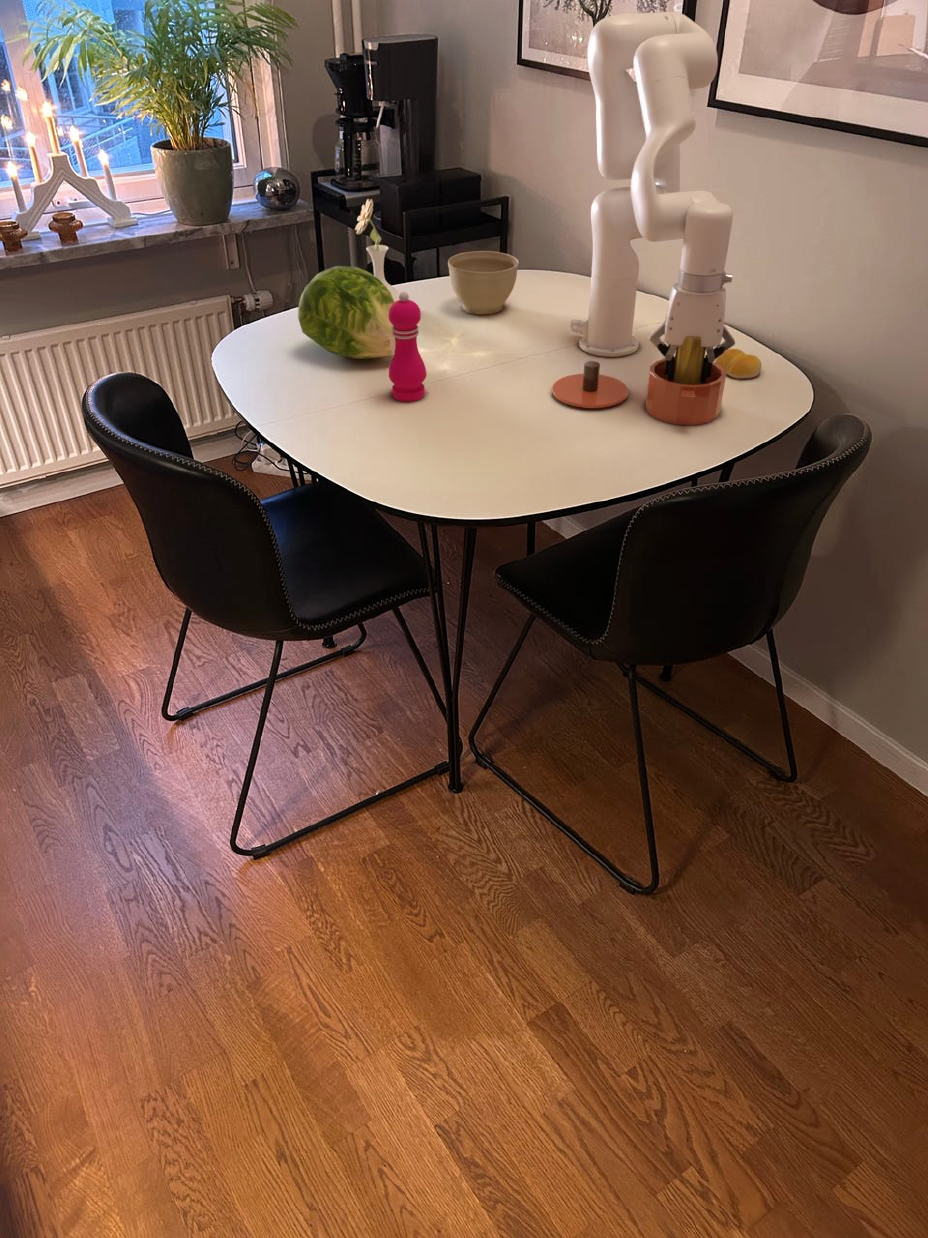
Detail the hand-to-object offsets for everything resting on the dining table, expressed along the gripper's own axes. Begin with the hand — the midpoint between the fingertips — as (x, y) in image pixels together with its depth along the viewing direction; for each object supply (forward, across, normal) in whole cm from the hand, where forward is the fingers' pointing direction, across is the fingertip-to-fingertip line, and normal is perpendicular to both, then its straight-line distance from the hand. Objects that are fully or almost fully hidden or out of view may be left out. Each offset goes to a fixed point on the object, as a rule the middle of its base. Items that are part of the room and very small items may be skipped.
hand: (686, 378), depth 172 cm
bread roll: (+6, -11, -19) cm, 23 cm away
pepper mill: (+6, +52, +1) cm, 53 cm away
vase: (+6, 0, 0) cm, 6 cm away
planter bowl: (+6, +45, -48) cm, 67 cm away
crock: (+6, 0, 0) cm, 6 cm away
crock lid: (+5, +18, -4) cm, 19 cm away
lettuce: (+6, +68, -18) cm, 70 cm away
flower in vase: (+6, +69, -44) cm, 82 cm away
